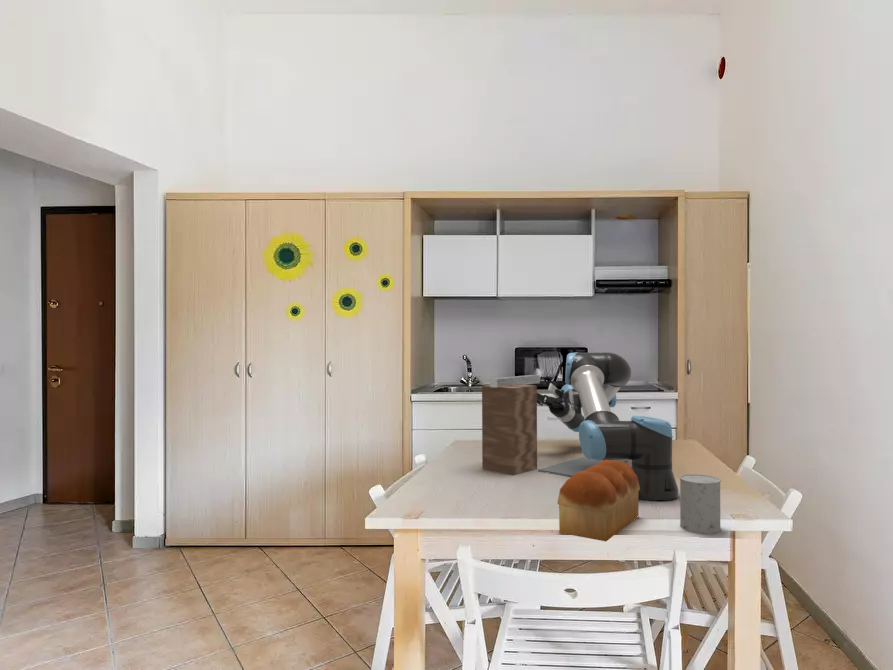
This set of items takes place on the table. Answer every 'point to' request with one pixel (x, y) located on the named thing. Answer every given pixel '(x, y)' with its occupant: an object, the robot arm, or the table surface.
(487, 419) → the walnut pedestal
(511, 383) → the steel bar
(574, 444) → the table surface
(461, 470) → the table surface
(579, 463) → the rubber mat
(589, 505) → the bread
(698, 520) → the concrete cylinder
